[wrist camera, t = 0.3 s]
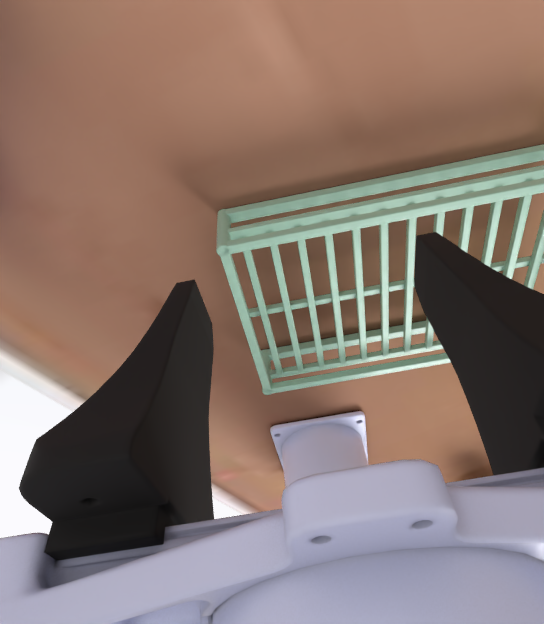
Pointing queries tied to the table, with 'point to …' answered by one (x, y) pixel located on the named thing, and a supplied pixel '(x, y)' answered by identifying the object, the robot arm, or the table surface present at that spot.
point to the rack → (372, 215)
